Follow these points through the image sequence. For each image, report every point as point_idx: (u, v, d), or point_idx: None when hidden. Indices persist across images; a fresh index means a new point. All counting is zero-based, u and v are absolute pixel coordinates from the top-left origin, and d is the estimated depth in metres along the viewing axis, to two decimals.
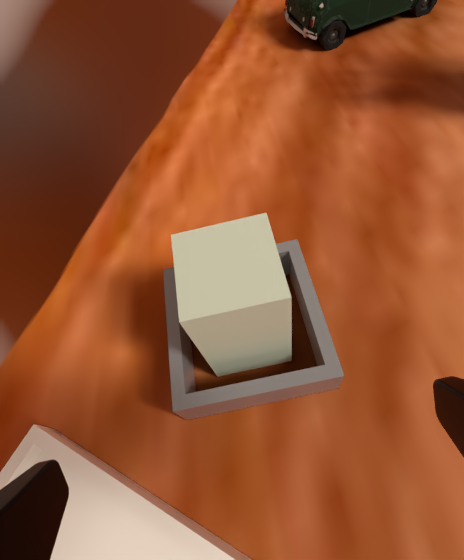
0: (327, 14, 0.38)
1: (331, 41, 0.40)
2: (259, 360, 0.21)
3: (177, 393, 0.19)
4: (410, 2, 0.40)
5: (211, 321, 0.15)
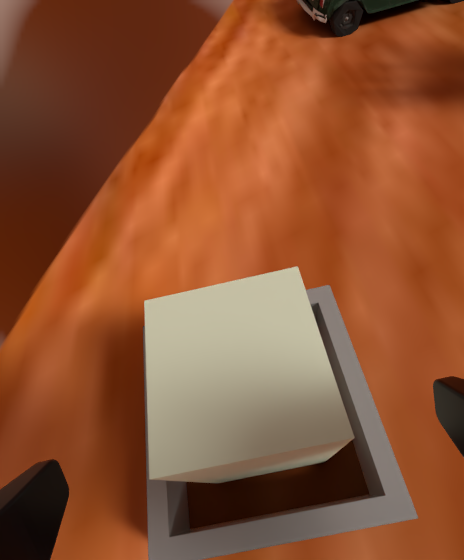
0: None
1: (344, 26, 0.34)
2: (280, 469, 0.14)
3: (157, 535, 0.13)
4: None
5: (209, 469, 0.09)
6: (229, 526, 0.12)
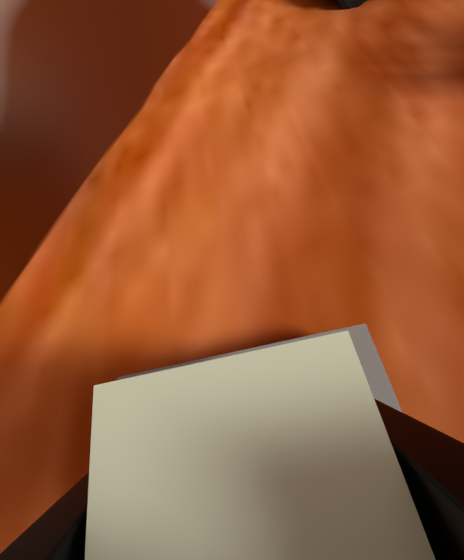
0: None
1: None
2: None
3: None
4: None
5: None
6: None
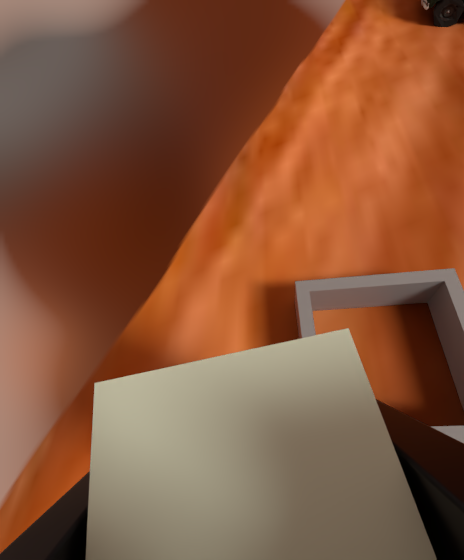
0: None
1: (443, 17, 0.38)
2: None
3: None
4: None
5: None
6: None
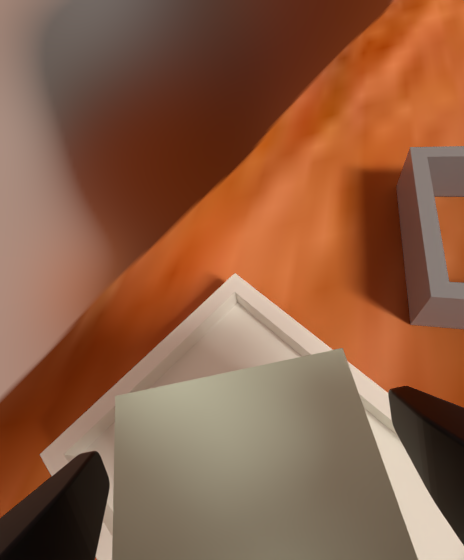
0: None
1: None
2: None
3: (437, 278, 0.15)
4: None
5: None
6: None
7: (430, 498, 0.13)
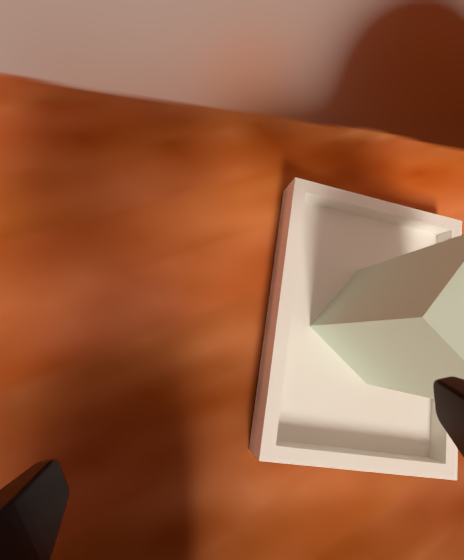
0: None
1: None
2: (358, 362, 0.19)
3: None
4: None
5: (435, 344, 0.12)
6: None
7: (416, 403, 0.21)
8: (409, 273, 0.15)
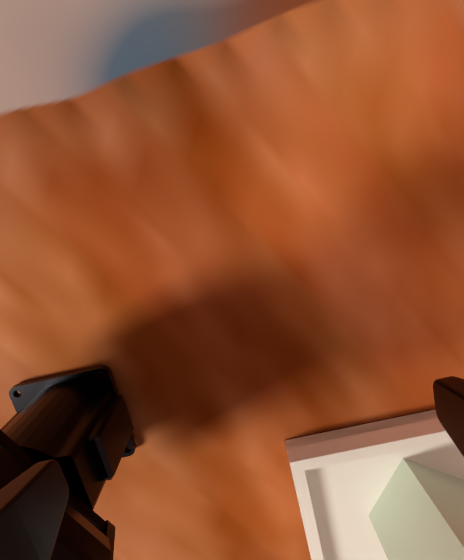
0: None
1: None
2: (393, 513, 0.22)
3: None
4: None
5: None
6: None
7: (365, 556, 0.24)
8: None
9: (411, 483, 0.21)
